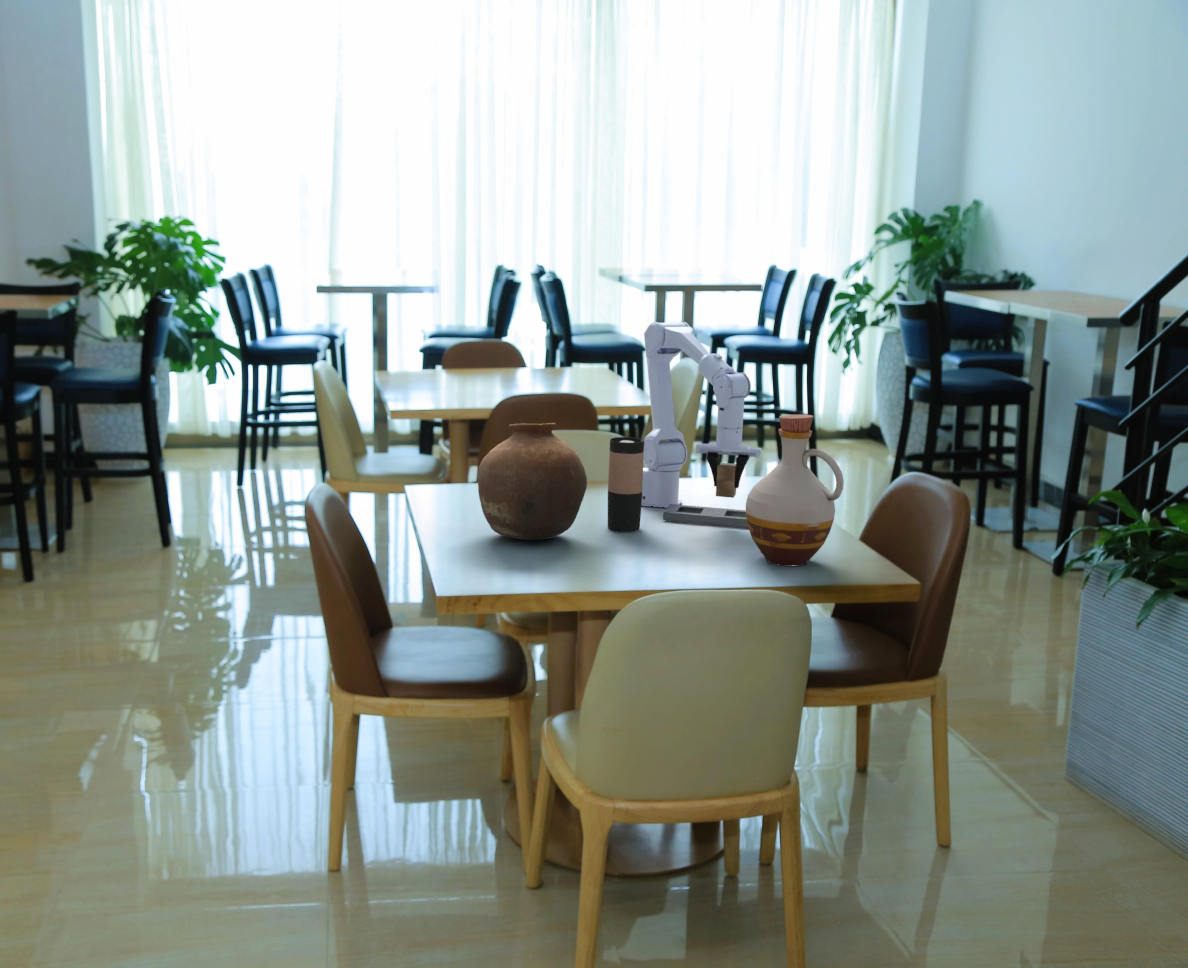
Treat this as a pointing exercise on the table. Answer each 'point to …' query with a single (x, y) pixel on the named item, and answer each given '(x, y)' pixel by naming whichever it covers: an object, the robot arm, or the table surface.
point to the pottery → (531, 484)
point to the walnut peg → (726, 480)
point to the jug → (793, 500)
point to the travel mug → (625, 484)
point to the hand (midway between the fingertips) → (726, 486)
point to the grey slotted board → (706, 515)
